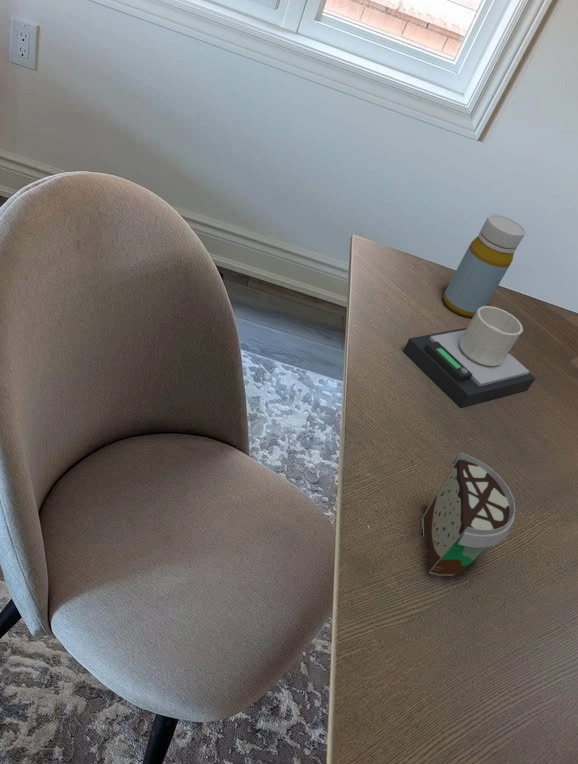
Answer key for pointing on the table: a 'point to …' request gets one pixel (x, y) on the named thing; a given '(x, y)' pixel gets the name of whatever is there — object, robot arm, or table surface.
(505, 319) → the cup
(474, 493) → the food container
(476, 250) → the bottle
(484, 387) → the scale
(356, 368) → the table surface
